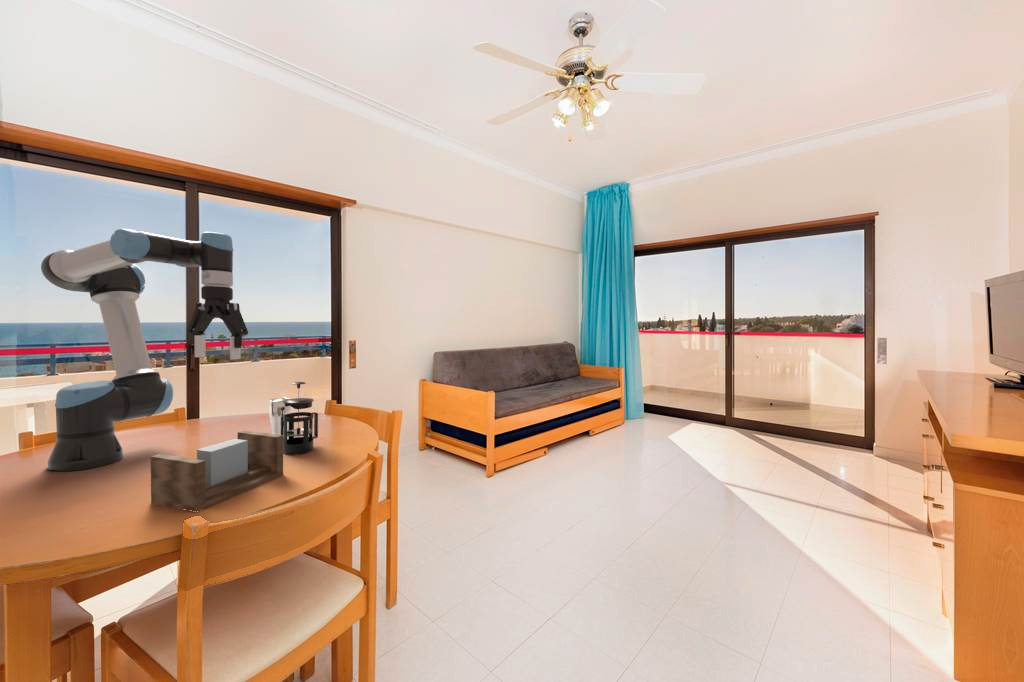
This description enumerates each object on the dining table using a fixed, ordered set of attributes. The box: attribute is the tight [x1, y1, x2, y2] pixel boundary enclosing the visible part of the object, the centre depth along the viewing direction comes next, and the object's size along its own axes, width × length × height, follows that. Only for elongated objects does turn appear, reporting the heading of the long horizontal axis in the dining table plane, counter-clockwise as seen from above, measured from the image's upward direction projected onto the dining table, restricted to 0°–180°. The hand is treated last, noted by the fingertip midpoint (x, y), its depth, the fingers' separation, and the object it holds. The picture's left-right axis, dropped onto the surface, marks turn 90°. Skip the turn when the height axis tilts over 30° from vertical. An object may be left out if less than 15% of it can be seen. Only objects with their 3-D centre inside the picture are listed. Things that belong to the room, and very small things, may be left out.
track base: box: [150, 430, 284, 513], centre depth 104 cm, size 14×24×11 cm, turn 165°
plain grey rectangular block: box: [196, 438, 248, 489], centre depth 104 cm, size 4×10×10 cm, turn 165°
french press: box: [283, 381, 319, 456], centre depth 134 cm, size 12×9×23 cm
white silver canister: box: [268, 397, 293, 441], centre depth 144 cm, size 7×7×15 cm
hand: (217, 358), depth 120 cm, fingers open, 13 cm apart
